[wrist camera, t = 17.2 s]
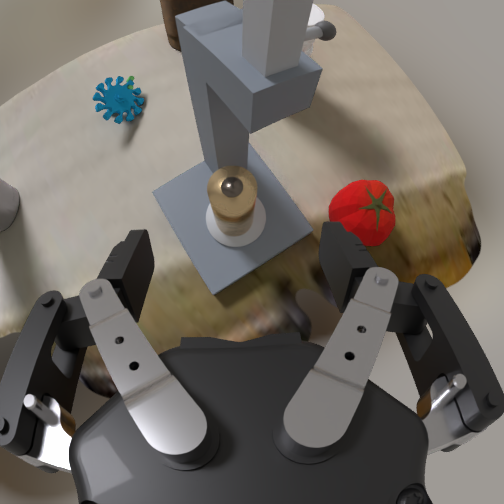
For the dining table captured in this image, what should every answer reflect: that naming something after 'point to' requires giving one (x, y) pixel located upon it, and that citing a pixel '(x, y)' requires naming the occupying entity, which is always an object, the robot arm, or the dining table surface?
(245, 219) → the disc
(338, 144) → the dining table surface
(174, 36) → the wooden container
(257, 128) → the press
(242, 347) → the robot arm
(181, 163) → the dining table surface
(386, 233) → the tomato
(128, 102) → the gear
